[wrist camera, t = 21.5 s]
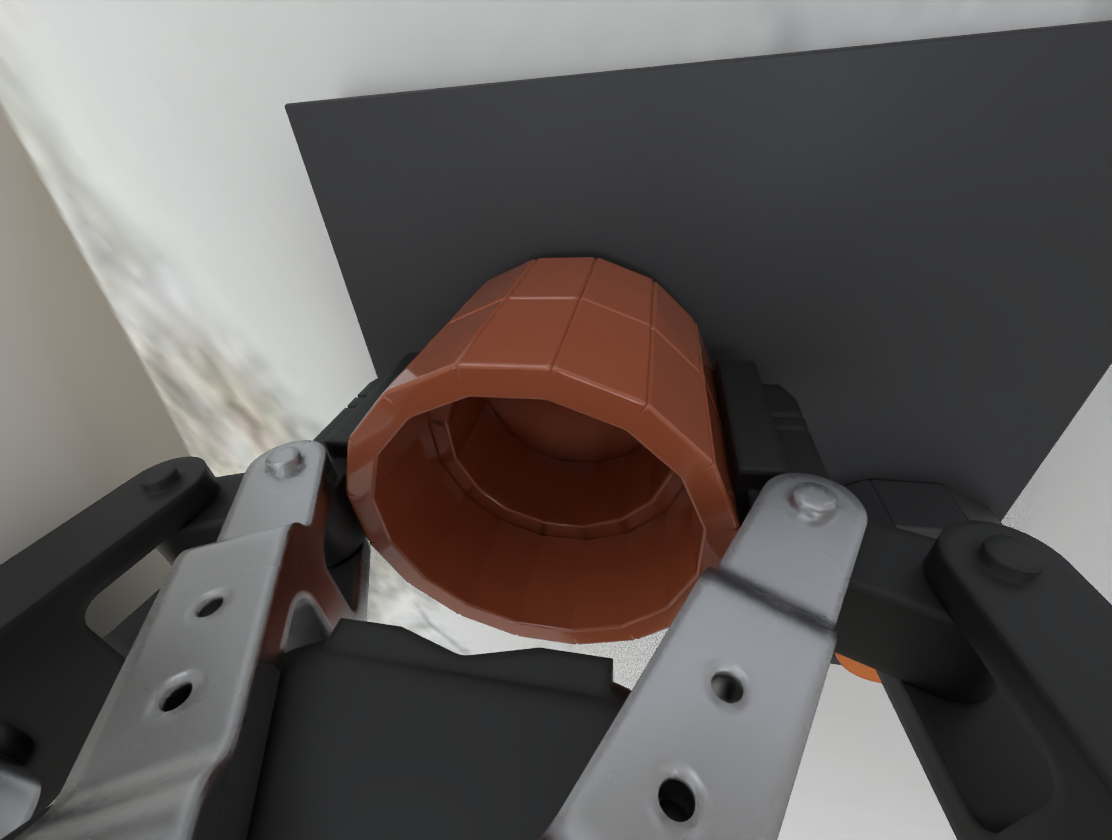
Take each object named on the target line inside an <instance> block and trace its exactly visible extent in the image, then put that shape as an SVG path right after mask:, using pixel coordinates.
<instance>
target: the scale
mask: <svg viewBox="0 0 1112 840" xmlns="http://www.w3.org/2000/svg"><path fill="white" fill-rule="evenodd" d="M285 109H286V112H287V115H288V118H289V121H290V124H291V127H292V129H293V132H294V135H295V138H296V141H297V144H298V147H299V150H300V153H301V156H302V159H303V161H304V164H305V167H306V170H307V173H308V176H309V179H310V182H311V185H312V188H313V191H314V193H315V196H316V199H317V202H318V205H319V208H320V211H321V214H322V217H323V220H324V223H325V226H326V228H327V231H328V234H329V237H330V240H331V243H332V246H333V249H334V252H335V255H336V258H337V260H338V263H339V266H340V269H341V272H342V275H343V278H344V281H345V284H346V287H347V290H348V292H349V295H350V298H351V301H352V304H353V307H354V310H355V313H356V316H357V319H358V322H359V325H360V327H361V330H362V333H363V336H364V339H365V342H366V345H367V348H368V351H369V354H370V357H371V359H372V362H373V365H374V368H375V371H376V374H377V377H378V378H379V377H381V376H383V375H384V374H386V373H388V372H390V371H391V370H392V369H393V368H394V367H395V366H396V365H397V364H398V363H399V362H400V361H401V360H402V358H403V357H404V356H405V355H406V354H408V353H420V352H421V351H422V350H423V349H424V348H425V347H426V346H427V344H428V343H429V342H430V341H431V340H432V339H433V338H434V337H435V336H436V335H437V334H438V333H439V331H440V330H441V329H442V328H444V326H445V325H446V324H447V323H448V322H449V321H450V320H451V319H452V318H453V316H454V315H455V314H456V313H457V312H458V311H459V310H460V309H461V308H462V307H463V306H464V305H465V303H466V302H467V301H468V300H469V299H470V298H471V297H472V296H473V295H474V294H475V293H476V292H477V290H478V289H479V288H480V287H481V286H482V285H484V284H485V283H486V282H487V281H488V280H490V279H492V278H494V277H497V276H499V275H501V274H503V273H505V272H507V271H509V270H511V269H513V268H515V267H518V266H520V265H522V264H524V263H526V262H528V261H530V260H535V261H536V260H537V259H539V258H574V257H593V258H595V260H596V259H597V258H601V259H603V260H606V261H608V262H611V263H613V264H616V265H618V266H621V267H623V268H626V269H628V270H631V271H633V272H636V273H638V274H641V275H643V276H646V277H648V278H651V279H652V280H653V283H654V282H656V283H658V284H659V285H660V286H661V287H662V288H663V289H664V290H665V291H666V292H667V293H668V294H669V295H670V296H671V297H672V298H673V299H674V300H675V301H676V302H677V303H678V304H679V305H680V306H681V307H682V308H683V309H684V310H685V311H686V312H687V313H688V314H689V315H690V316H691V317H692V318H693V319H694V321H695V323H696V324H697V325H698V327H699V330H700V333H701V336H702V339H703V341H704V344H705V347H706V350H707V353H708V356H709V359H710V361H711V364H712V367H713V371H714V367H715V363H716V360H748V361H754V362H755V365H756V368H757V371H758V374H759V377H760V380H761V383H762V384H775V385H780V386H782V387H783V388H784V389H785V390H786V391H787V392H789V393H790V394H791V395H792V396H793V397H795V398H796V400H797V402H798V405H799V407H800V410H801V412H802V414H803V416H802V418H804V419H805V422H806V424H807V426H808V432H810V434H811V436H812V438H813V441H814V443H815V445H816V448H817V450H818V453H819V455H820V457H821V460H822V462H823V465H824V467H825V469H826V472H827V474H828V477H829V479H830V480H832V481H834V482H836V483H838V484H840V485H842V486H843V487H845V488H846V489H848V490H849V491H850V492H852V493H853V494H854V495H855V496H856V497H857V498H858V499H859V500H860V501H861V503H862V504H863V506H864V508H865V510H866V513H867V516H868V517H870V518H872V519H874V520H876V521H879V522H881V523H884V524H887V525H890V526H893V527H897V528H900V529H903V530H907V531H910V532H914V533H917V534H920V535H924V536H927V537H931V538H934V539H937V538H938V536H939V535H940V533H941V532H942V530H943V529H944V528H945V527H946V526H947V525H949V524H951V523H954V522H957V521H962V520H980V521H987V522H993V523H997V524H1001V525H1003V524H1002V523H1001V521H1002V519H1003V518H1004V516H1005V515H1006V513H1007V512H1008V511H1009V509H1010V508H1011V506H1012V505H1013V503H1014V502H1015V501H1016V499H1017V498H1018V496H1019V495H1020V493H1021V492H1022V491H1023V489H1024V488H1025V486H1026V485H1027V483H1028V482H1029V481H1030V479H1031V478H1032V476H1033V475H1034V473H1035V472H1036V471H1037V469H1038V468H1039V466H1040V465H1041V463H1042V462H1043V461H1044V459H1045V458H1046V456H1047V455H1048V453H1049V452H1050V451H1051V449H1052V448H1053V446H1054V445H1055V443H1056V442H1057V441H1058V439H1059V438H1060V436H1061V435H1062V433H1063V432H1064V431H1065V429H1066V428H1067V426H1068V425H1069V423H1070V422H1071V421H1072V419H1073V418H1074V416H1075V415H1076V413H1077V412H1078V411H1079V409H1080V408H1081V406H1082V405H1083V403H1084V402H1085V401H1086V399H1087V398H1088V396H1089V395H1090V393H1091V392H1092V391H1093V389H1094V388H1095V386H1096V385H1097V383H1098V382H1099V381H1100V379H1101V378H1102V376H1103V375H1104V374H1105V372H1106V371H1107V369H1108V368H1109V366H1110V365H1111V364H1112V20H1109V21H1100V22H1090V23H1080V24H1070V25H1060V26H1050V27H1040V28H1030V29H1020V30H1011V31H1001V32H991V33H981V34H971V35H961V36H951V37H941V38H931V39H922V40H912V41H902V42H892V43H882V44H872V45H862V46H852V47H842V48H833V49H823V50H813V51H803V52H793V53H783V54H773V55H763V56H753V57H744V58H734V59H724V60H714V61H704V62H694V63H684V64H674V65H665V66H655V67H645V68H635V69H625V70H615V71H605V72H595V73H585V74H576V75H566V76H556V77H546V78H536V79H526V80H516V81H506V82H496V83H487V84H477V85H467V86H457V87H447V88H437V89H427V90H417V91H407V92H398V93H388V94H378V95H368V96H358V97H348V98H338V99H328V100H319V101H309V102H299V103H289V104H286V105H285ZM830 663H831V664H838V665H841V663H840V662H839V661H838V659H837V657H836V655H835V652H833V655H832V658H831V662H830Z"/></svg>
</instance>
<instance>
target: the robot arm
mask: <svg viewBox="0 0 1112 840" xmlns="http://www.w3.org/2000/svg"><path fill="white" fill-rule="evenodd" d="M418 354H419V353H408V354H406V355H405V356H404V357H403V358H402V360H401V361H400V362H399V363H398V364H397V365H396V366H395V367H394V368H393V369H392V370H391V371H390V372H388V373H386V374H384V375H383V376H381V377H379V378H377V379H376V380H374V381H372V382H370V383H369V384H368V385H367V386H366V387H365V388H364V389H363V390H362V391H361V392H360V393H359V394H358V398H355V399H354V400H353V401H352V402H351V403H350V404H349V405H348V408H345V409H344V410H343V411H342V412H341V413H340V414H339V415H338V416H337V417H336V418H335V419H334V420H333V421H332V422H331V423H330V424H329V425H328V426H327V427H326V428H325V429H324V430H323V431H322V432H321V433H320V434H319V435H318V436H317V437H316V438H315V439H314V440H313V441H311V440H301V441H294V442H290V443H286V444H283V445H280V446H278V447H275V448H273V449H271V450H269V451H267V452H265V453H264V454H262V455H261V456H259V457H258V458H257V459H256V460H254V461H253V462H252V463H251V464H250V466H249V467H248V468H247V470H246V472H245V473H240V474H234V475H227V476H221V477H215V476H214V475H213V473H212V472H211V470H210V469H209V467H208V466H207V464H206V463H205V461H204V460H203V459H201V458H198V457H181V458H176V459H172V460H168V461H165V462H163V463H160V464H157V465H155V466H153V467H151V468H148V469H147V470H145V471H143V472H141V473H139V474H138V475H136V476H135V477H133V478H132V479H130V480H129V481H127V482H126V483H124V484H122V485H121V486H120V487H118V488H116V489H115V490H113V491H112V492H111V493H109V494H107V495H106V496H104V497H103V498H101V499H100V500H98V501H97V502H95V503H94V504H92V505H91V506H89V507H88V508H86V509H85V510H83V511H82V512H80V513H79V514H77V515H76V516H74V517H73V518H71V519H70V520H68V521H67V522H65V523H63V524H62V525H60V526H59V527H57V528H56V529H55V530H53V531H51V532H50V533H48V534H47V535H46V536H44V537H42V538H41V539H39V540H38V541H36V542H35V543H33V544H32V545H30V546H29V547H27V548H26V549H24V550H22V551H21V552H19V553H18V554H16V555H15V556H13V557H12V558H10V559H9V560H7V561H6V562H4V563H3V564H1V565H0V840H777V839H778V835H779V832H780V829H781V825H782V822H783V819H784V815H785V812H786V809H787V805H788V802H789V799H790V795H791V792H792V789H793V785H794V782H795V779H796V775H797V772H798V769H799V765H800V762H801V759H802V755H803V752H804V749H805V745H806V742H807V739H808V735H809V732H810V729H811V725H812V722H813V719H814V715H815V712H816V709H817V705H818V702H819V699H820V695H821V692H822V689H823V685H824V682H825V678H826V675H827V672H828V668H829V665H830V662H831V658H832V655H833V652H835V653H838V654H840V655H842V656H845V657H847V658H850V659H852V660H854V661H857V662H859V663H861V664H864V665H866V666H869V667H871V668H873V669H876V672H877V674H878V676H879V678H880V680H881V682H882V684H883V686H884V688H885V690H886V692H887V695H888V697H889V699H890V701H891V703H892V705H893V707H894V709H895V711H896V713H897V715H898V717H899V719H900V722H901V724H902V726H903V728H904V730H905V732H906V734H907V736H908V738H909V740H910V742H911V744H912V746H913V749H914V751H915V753H916V755H917V757H918V759H919V761H920V763H921V765H922V767H923V769H924V771H925V774H926V776H927V778H928V780H929V782H930V784H931V786H932V788H933V790H934V792H935V794H936V796H937V798H938V801H939V803H940V805H941V807H942V809H943V811H944V813H945V815H946V817H947V819H948V821H949V823H950V825H951V828H952V830H953V832H954V834H955V836H956V838H957V840H1112V605H1111V604H1110V603H1109V602H1108V601H1107V600H1106V599H1105V598H1104V597H1103V596H1102V595H1101V594H1100V593H1099V592H1098V591H1097V590H1096V589H1095V588H1094V587H1093V586H1092V585H1091V584H1090V583H1089V582H1088V581H1087V580H1086V579H1085V578H1084V577H1083V576H1082V575H1081V574H1080V573H1079V572H1078V571H1077V570H1076V569H1075V568H1074V567H1073V566H1072V565H1071V564H1070V563H1069V562H1068V561H1067V560H1066V559H1065V558H1063V557H1062V556H1061V555H1060V554H1059V553H1057V552H1056V551H1055V550H1053V549H1052V548H1051V547H1049V546H1047V545H1046V544H1044V543H1043V542H1041V541H1039V540H1037V539H1035V538H1033V537H1032V536H1030V535H1028V534H1025V533H1023V532H1021V531H1018V530H1016V529H1013V528H1010V527H1007V526H1004V525H1001V524H997V523H993V522H987V521H980V520H962V521H957V522H954V523H951V524H949V525H947V526H946V527H945V528H944V529H943V530H942V532H941V533H940V535H939V536H938V538H937V539H934V538H931V537H927V536H924V535H920V534H917V533H914V532H910V531H907V530H903V529H900V528H897V527H893V526H890V525H887V524H884V523H881V522H879V521H876V520H874V519H872V518H870V517H868V516H867V513H866V510H865V508H864V506H863V504H862V503H861V501H860V500H859V499H858V498H857V497H856V496H855V495H854V494H853V493H852V492H850V491H849V490H848V489H846V488H845V487H843V486H842V485H840V484H838V483H836V482H834V481H832V480H830V479H829V477H828V474H827V472H826V469H825V467H824V465H823V462H822V460H821V457H820V455H819V453H818V450H817V448H816V445H815V443H814V441H813V438H812V436H811V434H810V432H808V426H807V424H806V422H805V419H804V418H802V416H803V414H802V412H801V410H800V407H799V405H798V402H797V400H796V398H795V397H793V396H792V395H791V394H790V393H789V392H787V391H786V390H785V389H784V388H783V387H782V386H780V385H775V384H762V383H761V380H760V377H759V374H758V371H757V368H756V365H755V362H754V361H748V360H716V363H715V367H714V377H715V383H716V389H717V394H718V400H719V406H720V412H721V418H722V424H723V431H724V435H725V441H726V447H727V453H728V459H729V465H730V470H731V476H732V482H733V488H734V494H735V500H736V506H737V512H738V518H739V526H740V529H739V530H738V532H737V534H736V535H735V537H734V539H733V541H732V542H731V544H730V546H729V548H728V549H727V551H726V553H725V555H724V556H723V558H722V560H721V562H720V563H719V565H718V566H717V568H716V569H715V568H713V567H711V566H710V567H708V568H707V569H706V570H705V571H704V572H703V573H702V575H701V576H700V578H699V579H698V581H697V582H696V584H695V586H694V587H693V589H692V591H691V592H690V594H689V596H688V597H687V599H686V601H685V602H684V604H683V606H682V607H681V609H680V611H679V612H678V614H677V616H676V617H675V619H674V621H673V622H672V624H671V626H670V627H669V629H668V631H667V632H666V634H665V636H664V637H663V639H662V641H661V643H660V644H659V646H658V648H657V649H656V651H655V653H654V654H653V656H652V658H651V659H650V661H649V663H648V664H647V666H646V668H645V669H644V671H643V673H642V674H641V676H640V678H639V679H638V681H637V683H636V684H635V686H634V688H633V689H632V691H631V690H630V689H628V688H626V687H624V686H621V685H619V684H617V683H615V682H613V659H612V658H605V657H598V656H592V655H585V654H579V653H572V652H565V651H559V650H552V649H545V648H532V649H523V650H514V651H505V652H496V653H487V654H478V655H459V654H456V653H454V652H452V651H450V650H448V649H446V648H444V647H442V646H440V645H438V644H436V643H434V642H432V641H429V640H427V639H425V638H423V637H421V636H419V635H417V634H415V633H413V632H411V631H409V630H407V629H405V628H403V627H400V626H393V625H386V624H380V623H373V622H367V605H368V587H369V569H370V552H371V549H370V544H369V542H368V539H367V537H366V535H365V533H364V531H363V529H362V527H361V524H360V522H359V520H358V518H357V516H356V514H355V512H354V510H353V507H352V505H351V503H350V501H349V499H348V497H347V492H346V475H347V452H348V441H349V439H350V436H351V434H352V433H353V432H354V430H355V429H356V428H357V426H358V425H359V424H360V422H361V421H362V420H363V418H364V417H365V416H366V414H367V413H368V412H369V410H370V409H371V408H372V406H373V405H374V404H375V402H376V401H377V400H378V398H379V397H380V396H381V394H382V393H383V392H384V391H385V390H386V389H387V388H388V387H389V386H390V384H391V383H392V382H393V381H394V380H395V379H396V378H397V377H398V376H399V375H400V374H401V373H402V372H403V370H404V369H405V368H406V367H407V366H408V365H409V364H410V363H411V362H412V361H413V360H414V359H415V357H416V356H417V355H418ZM155 548H157V549H158V550H159V552H160V553H161V554H162V555H163V556H164V557H165V558H166V559H167V561H168V562H169V563H170V564H171V565H172V566H171V569H170V571H169V573H168V575H167V577H166V579H165V581H164V583H163V585H162V587H161V588H160V589H159V590H158V591H157V592H156V593H154V594H153V595H152V596H151V597H150V598H149V599H148V600H146V601H145V602H144V603H143V604H142V605H141V606H140V607H139V608H137V609H136V610H135V611H134V612H133V613H132V614H131V615H130V616H128V617H127V618H126V619H125V620H124V621H123V622H122V623H120V624H119V625H118V626H117V627H116V628H115V629H114V630H113V631H111V632H110V633H109V634H108V635H107V636H105V637H103V638H102V639H101V638H100V637H99V636H98V635H97V634H96V633H94V632H93V631H92V630H91V629H90V628H89V627H88V626H87V625H86V623H85V613H86V610H87V607H88V605H89V604H90V602H91V601H92V600H93V599H94V598H95V597H96V596H97V594H99V593H100V592H101V591H102V590H104V589H105V588H106V587H107V586H109V585H110V584H111V583H112V582H114V581H115V580H116V579H117V578H118V577H120V576H121V575H122V574H123V573H125V572H126V571H127V570H129V568H131V567H132V566H133V565H134V564H136V563H137V562H138V561H140V560H141V559H142V558H143V557H145V556H146V555H147V554H148V553H150V552H151V551H152V550H153V549H155ZM58 795H59V796H58ZM57 796H58V797H57ZM56 797H57V799H56V801H55V802H54V804H52V805H51V806H49V805H50V804H51V802H52V801H53V800H54V799H55V798H56ZM48 806H49V807H48ZM47 807H48V808H47Z"/></svg>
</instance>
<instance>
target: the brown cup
mask: <svg viewBox="0 0 1112 840" xmlns="http://www.w3.org/2000/svg"><path fill="white" fill-rule="evenodd" d="M346 492H347V497H348V499H349V501H350V503H351V505H352V507H353V510H354V512H355V514H356V516H357V518H358V520H359V522H360V524H361V527H362V529H363V531H364V533H365V535H366V537H367V539H368V540H369V541H370V544H371V545H372V546H373V547H374V548H375V549H376V550H377V551H378V553H379V554H380V555H381V556H382V557H383V558H384V559H385V560H386V561H387V562H388V563H389V564H390V565H391V566H392V567H393V568H394V569H395V570H396V571H397V572H398V573H399V574H400V575H401V576H402V577H403V578H404V579H405V580H406V581H407V582H408V583H410V584H411V585H412V586H414V587H415V588H417V589H419V590H420V591H422V592H424V593H425V594H427V595H428V596H430V597H432V598H433V599H435V600H436V601H438V602H440V603H441V604H443V605H444V606H446V607H448V608H449V609H451V610H452V611H454V612H456V613H457V614H461V615H462V616H464V617H467V618H469V619H472V620H475V621H478V622H480V623H483V624H486V625H489V626H491V627H494V628H497V629H500V630H502V631H505V632H508V633H511V634H513V635H518V636H521V637H528V638H535V639H542V640H548V641H555V642H562V643H569V644H576V643H577V644H592V643H605V642H617V641H630V640H635V639H640V638H643V637H646V636H648V635H651V634H653V633H656V632H659V631H661V630H664V629H667V628H669V627H670V626H671V624H672V622H673V621H674V619H675V617H676V616H677V614H678V612H679V611H680V609H681V607H682V606H683V604H684V602H685V601H686V599H687V597H688V596H689V594H690V592H691V591H692V589H693V587H694V586H695V584H696V582H697V581H698V579H699V578H700V576H701V575H702V573H703V572H704V571H705V570H706V569H707V568H708V567H710V566H711V567H713V568H715V569H716V568H717V566H718V565H719V563H720V562H721V560H722V558H723V556H724V555H725V553H726V551H727V549H728V548H729V546H730V544H731V542H732V541H733V539H734V537H735V535H736V534H737V532H738V530H739V529H740V526H739V518H738V512H737V506H736V500H735V494H734V488H733V482H732V476H731V470H730V465H729V459H728V453H727V447H726V441H725V435H724V431H723V424H722V418H721V412H720V406H719V400H718V394H717V389H716V383H715V377H714V371H713V367H712V364H711V361H710V359H709V356H708V353H707V350H706V347H705V344H704V341H703V339H702V336H701V333H700V330H699V327H698V325H697V324H696V323H695V321H694V319H693V318H692V317H691V316H690V315H689V314H688V313H687V312H686V311H685V310H684V309H683V308H682V307H681V306H680V305H679V304H678V303H677V302H676V301H675V300H674V299H673V298H672V297H671V296H670V295H669V294H668V293H667V292H666V291H665V290H664V289H663V288H662V287H661V286H660V285H659V284H658V283H656V282H654V283H653V280H652V279H651V278H648V277H646V276H643V275H641V274H638V273H636V272H633V271H631V270H628V269H626V268H623V267H621V266H618V265H616V264H613V263H611V262H608V261H606V260H603V259H601V258H597V259H596V260H595V258H593V257H574V258H539V259H537V260H536V261H535V260H530V261H528V262H526V263H524V264H522V265H520V266H518V267H515V268H513V269H511V270H509V271H507V272H505V273H503V274H501V275H499V276H497V277H494V278H492V279H490V280H488V281H487V282H486V283H485V284H484V285H482V286H481V287H480V288H479V289H478V290H477V292H476V293H475V294H474V295H473V296H472V297H471V298H470V299H469V300H468V301H467V302H466V303H465V305H464V306H463V307H462V308H461V309H460V310H459V311H458V312H457V313H456V314H455V315H454V316H453V318H452V319H451V320H450V321H449V322H448V323H447V324H446V325H445V326H444V328H442V329H441V330H440V331H439V333H438V334H437V335H436V336H435V337H434V338H433V339H432V340H431V341H430V342H429V343H428V344H427V346H426V347H425V348H424V349H423V350H422V351H421V352H420V353H419V354H418V355H417V356H416V357H415V359H414V360H413V361H412V362H411V363H410V364H409V365H408V366H407V367H406V368H405V369H404V370H403V372H402V373H401V374H400V375H399V376H398V377H397V378H396V379H395V380H394V381H393V382H392V383H391V384H390V386H389V387H388V388H387V389H386V390H385V391H384V392H383V393H382V394H381V396H380V397H379V398H378V400H377V401H376V402H375V404H374V405H373V406H372V408H371V409H370V410H369V412H368V413H367V414H366V416H365V417H364V418H363V420H362V421H361V422H360V424H359V425H358V426H357V428H356V429H355V430H354V432H353V433H352V434H351V436H350V439H349V441H348V452H347V475H346Z"/></svg>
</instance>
